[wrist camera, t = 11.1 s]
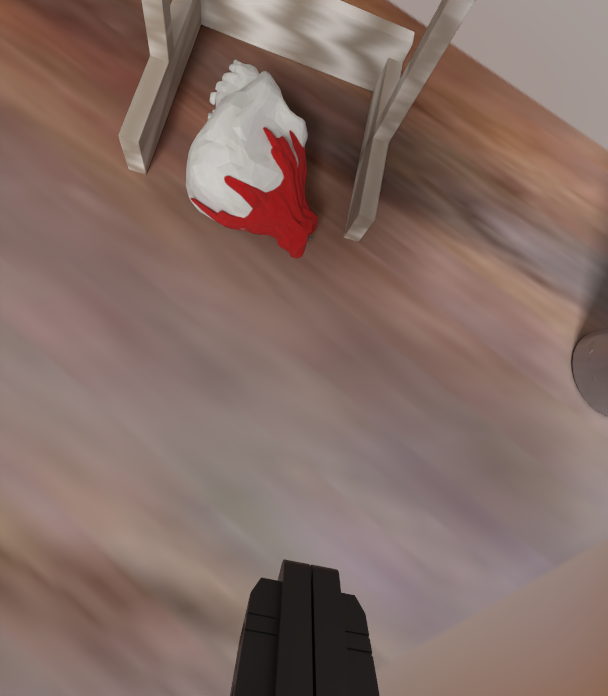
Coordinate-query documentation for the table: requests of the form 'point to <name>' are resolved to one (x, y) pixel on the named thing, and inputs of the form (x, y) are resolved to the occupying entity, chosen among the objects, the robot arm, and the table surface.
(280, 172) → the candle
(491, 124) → the table surface
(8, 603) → the table surface
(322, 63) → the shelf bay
